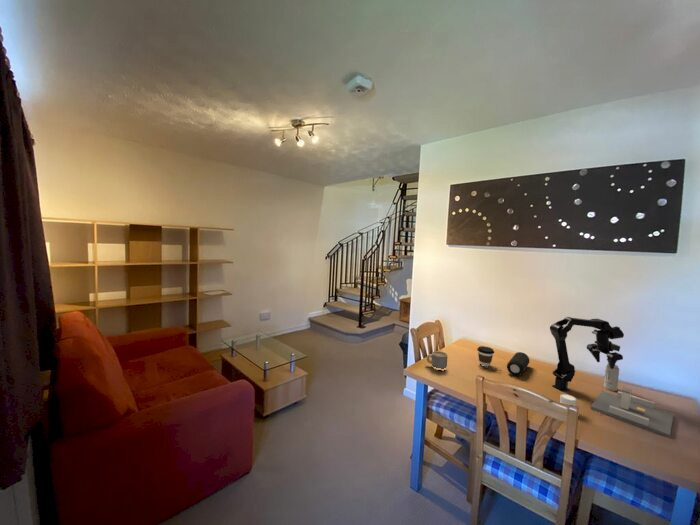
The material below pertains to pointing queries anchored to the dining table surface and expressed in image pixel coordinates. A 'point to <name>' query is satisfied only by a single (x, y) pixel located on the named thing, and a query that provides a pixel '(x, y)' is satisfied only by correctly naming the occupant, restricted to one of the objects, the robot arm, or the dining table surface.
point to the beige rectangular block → (625, 398)
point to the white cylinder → (567, 399)
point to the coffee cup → (485, 355)
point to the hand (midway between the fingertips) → (605, 365)
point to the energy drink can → (611, 378)
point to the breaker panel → (635, 412)
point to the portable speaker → (518, 364)
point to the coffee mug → (438, 359)
